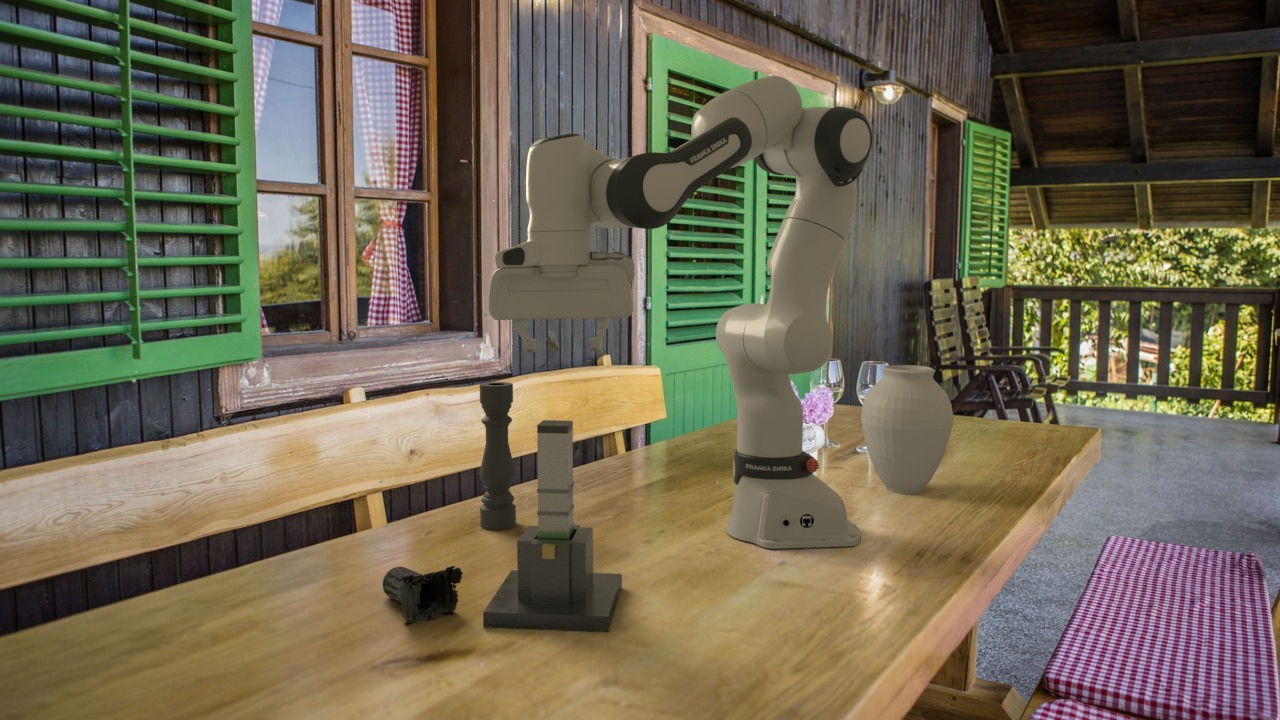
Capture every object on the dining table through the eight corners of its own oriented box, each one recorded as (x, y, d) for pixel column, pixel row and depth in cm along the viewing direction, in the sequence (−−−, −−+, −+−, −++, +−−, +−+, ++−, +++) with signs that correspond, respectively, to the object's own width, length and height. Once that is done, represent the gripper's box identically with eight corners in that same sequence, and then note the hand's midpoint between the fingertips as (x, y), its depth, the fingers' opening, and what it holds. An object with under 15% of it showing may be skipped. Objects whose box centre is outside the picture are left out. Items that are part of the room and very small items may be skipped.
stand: (621, 587, 134) (621, 519, 133) (608, 631, 118) (608, 554, 117) (511, 583, 135) (510, 516, 134) (483, 627, 119) (482, 550, 118)
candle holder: (509, 531, 161) (507, 387, 158) (475, 529, 162) (472, 386, 159) (520, 521, 167) (519, 382, 164) (487, 519, 168) (485, 381, 166)
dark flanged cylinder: (458, 624, 124) (414, 603, 133) (465, 566, 124) (421, 549, 133) (395, 629, 118) (354, 607, 127) (403, 567, 118) (361, 550, 127)
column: (574, 543, 128) (573, 420, 126) (569, 553, 123) (568, 426, 121) (543, 542, 128) (542, 419, 126) (537, 552, 124) (535, 425, 122)
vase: (852, 495, 186) (856, 370, 183) (866, 476, 202) (869, 361, 199) (946, 504, 179) (951, 374, 176) (953, 484, 195) (957, 365, 193)
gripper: (635, 251, 133) (637, 347, 135) (494, 253, 135) (497, 349, 136) (632, 251, 127) (634, 352, 129) (483, 254, 128) (487, 354, 130)
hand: (562, 351), depth 133 cm, fingers open, 8 cm apart
